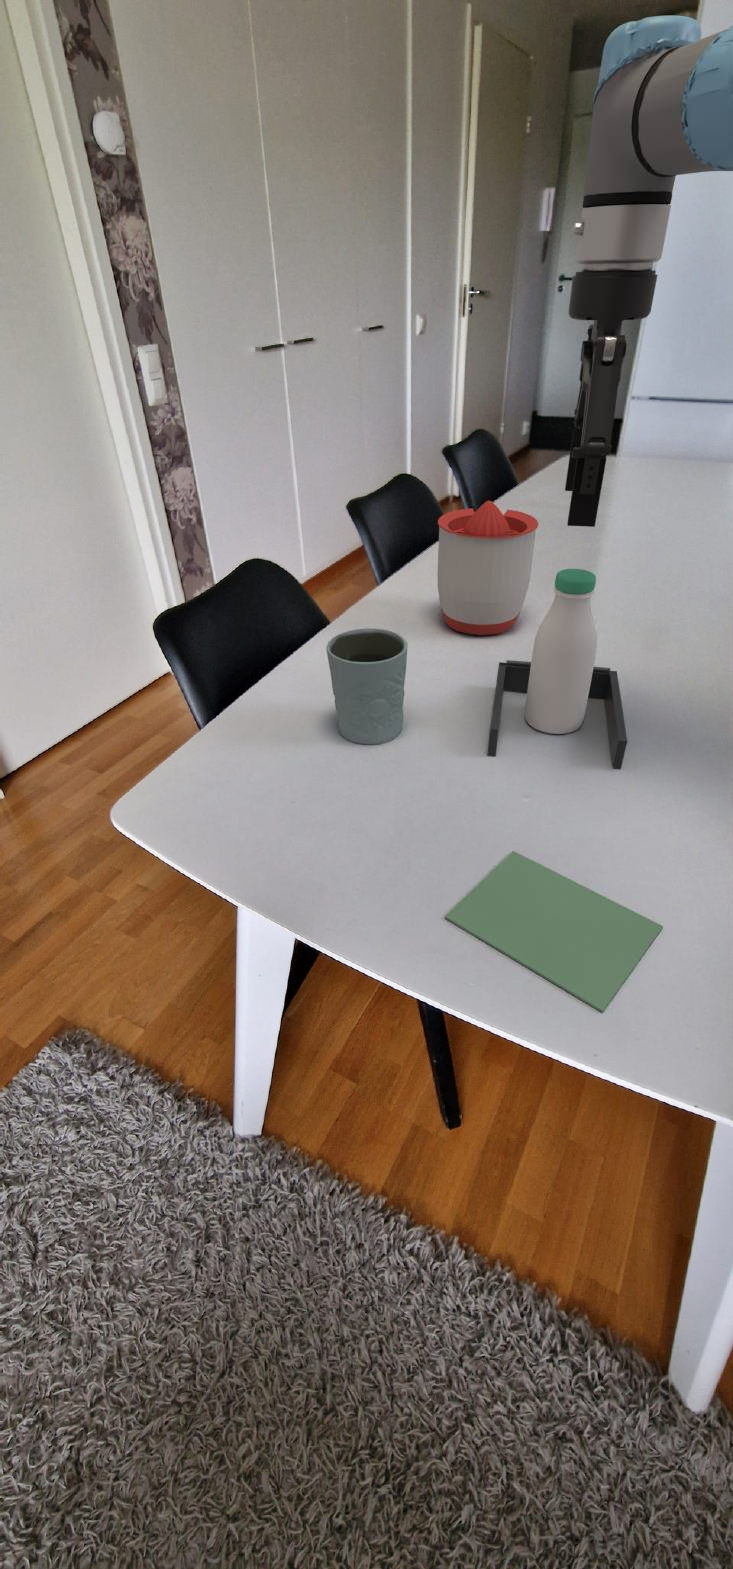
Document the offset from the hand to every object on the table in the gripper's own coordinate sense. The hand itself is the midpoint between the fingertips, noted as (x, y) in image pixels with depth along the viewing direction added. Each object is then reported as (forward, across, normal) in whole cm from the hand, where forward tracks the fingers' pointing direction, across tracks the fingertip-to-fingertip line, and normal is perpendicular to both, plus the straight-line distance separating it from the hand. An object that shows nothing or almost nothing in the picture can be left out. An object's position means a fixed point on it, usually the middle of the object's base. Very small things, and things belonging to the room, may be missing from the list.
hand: (578, 507), depth 77 cm
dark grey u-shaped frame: (+28, +1, +1) cm, 28 cm away
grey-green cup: (+28, +5, -23) cm, 37 cm away
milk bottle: (+28, 0, +1) cm, 28 cm away
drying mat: (+28, +36, +1) cm, 46 cm away
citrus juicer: (+28, -32, -11) cm, 44 cm away
